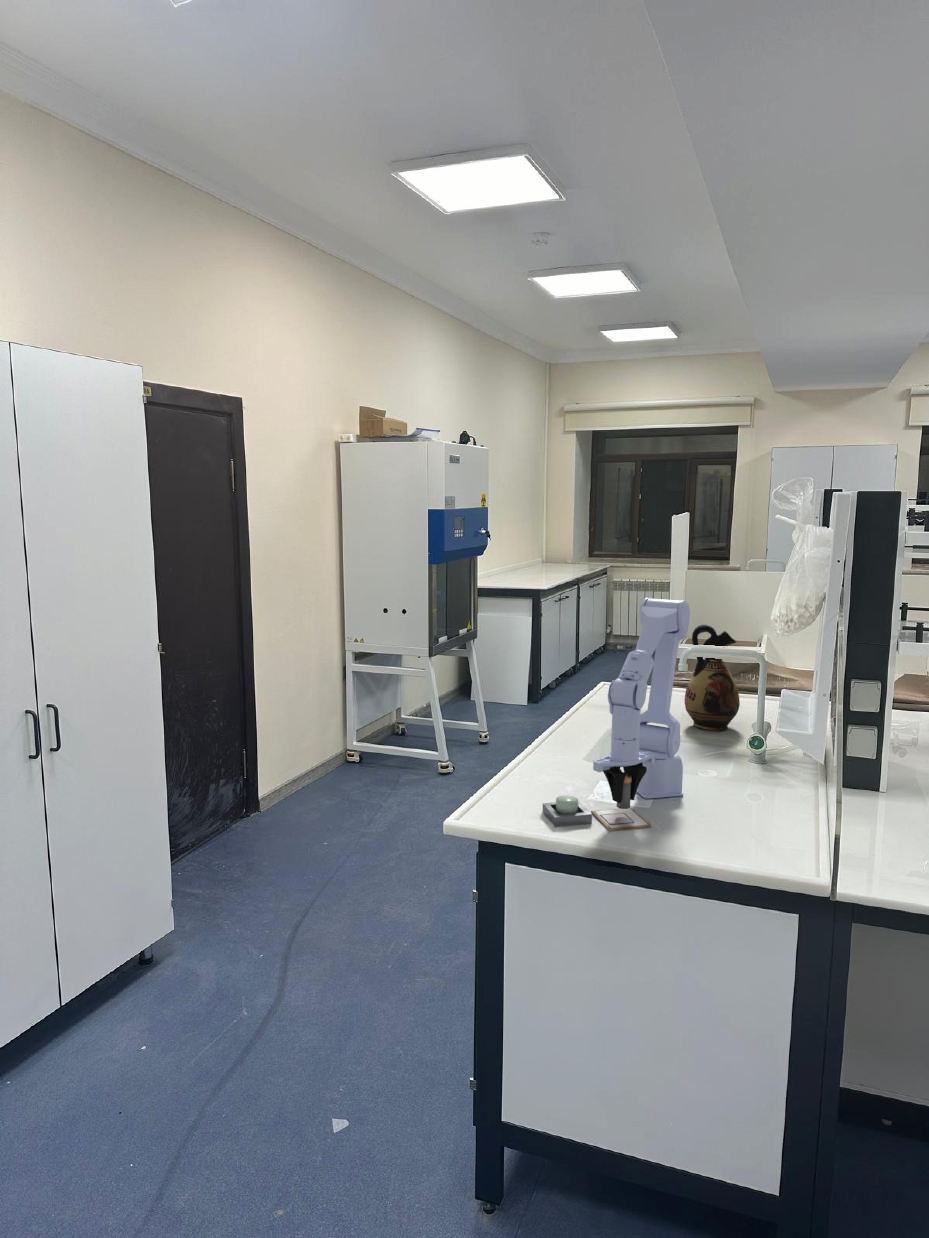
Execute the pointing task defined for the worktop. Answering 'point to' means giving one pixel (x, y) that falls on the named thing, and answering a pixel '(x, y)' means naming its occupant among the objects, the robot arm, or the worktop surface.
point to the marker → (626, 793)
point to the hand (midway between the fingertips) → (623, 799)
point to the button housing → (567, 815)
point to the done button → (566, 805)
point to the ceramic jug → (712, 687)
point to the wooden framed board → (620, 819)
